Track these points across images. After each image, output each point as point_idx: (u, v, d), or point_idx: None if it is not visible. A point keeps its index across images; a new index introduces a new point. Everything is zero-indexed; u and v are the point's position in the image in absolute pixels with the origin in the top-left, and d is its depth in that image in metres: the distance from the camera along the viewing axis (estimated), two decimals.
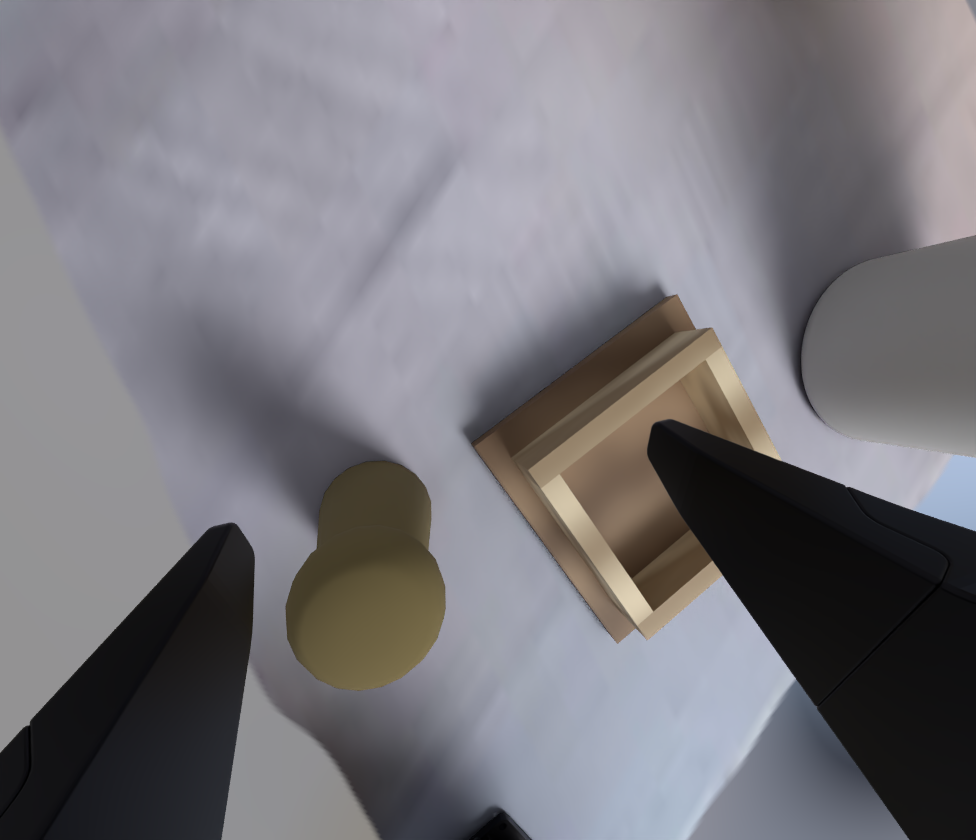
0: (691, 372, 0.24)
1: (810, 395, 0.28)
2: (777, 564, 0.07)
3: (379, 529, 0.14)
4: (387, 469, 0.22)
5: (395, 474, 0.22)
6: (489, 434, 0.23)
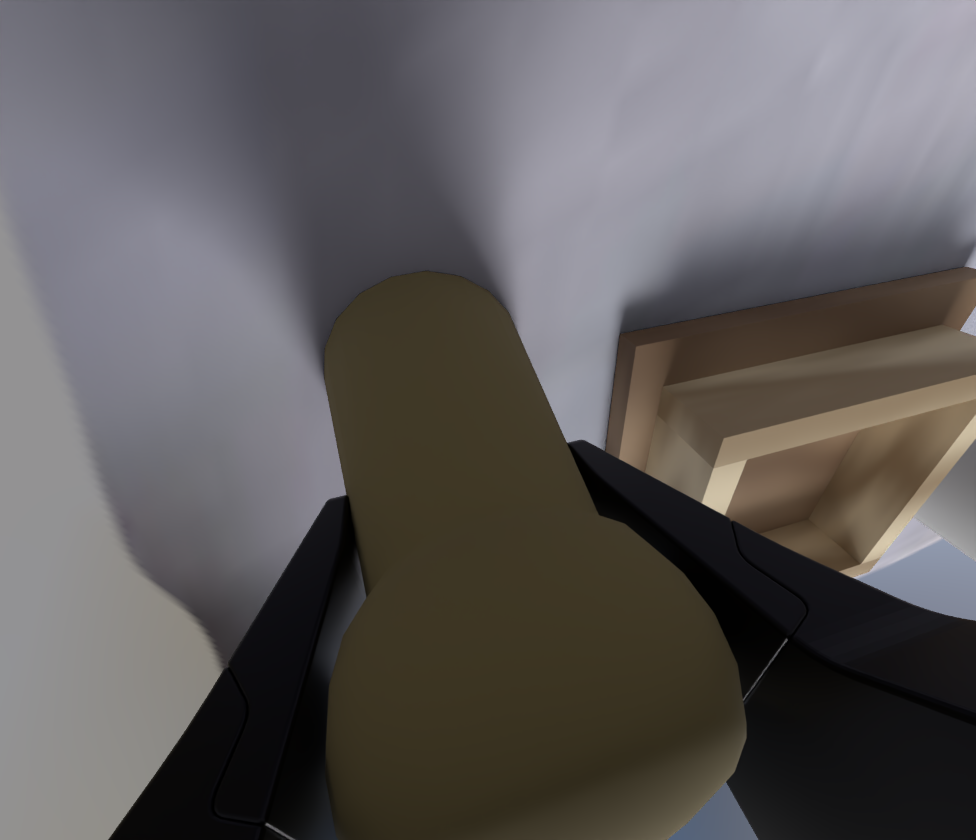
0: None
1: None
2: None
3: (672, 571, 0.05)
4: (501, 315, 0.11)
5: (514, 333, 0.11)
6: (665, 339, 0.14)
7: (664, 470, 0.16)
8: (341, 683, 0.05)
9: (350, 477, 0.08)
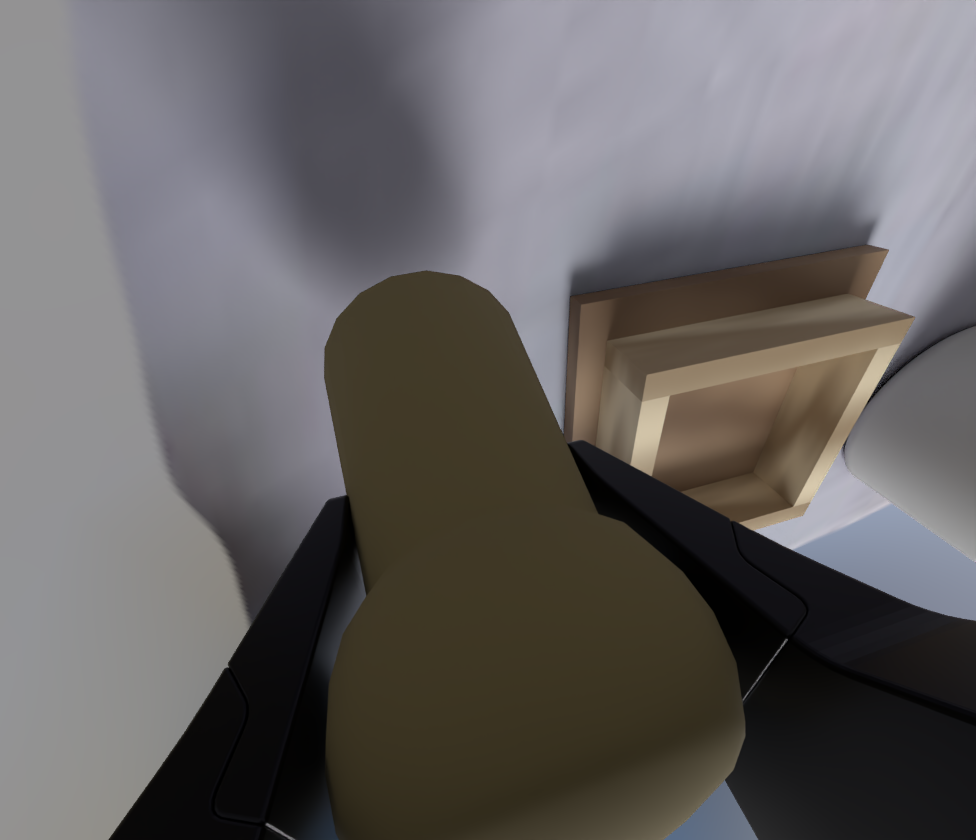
0: None
1: (864, 421, 0.27)
2: None
3: (671, 569, 0.05)
4: (501, 314, 0.11)
5: (514, 333, 0.11)
6: (605, 299, 0.17)
7: (611, 413, 0.19)
8: (341, 681, 0.05)
9: (350, 476, 0.08)
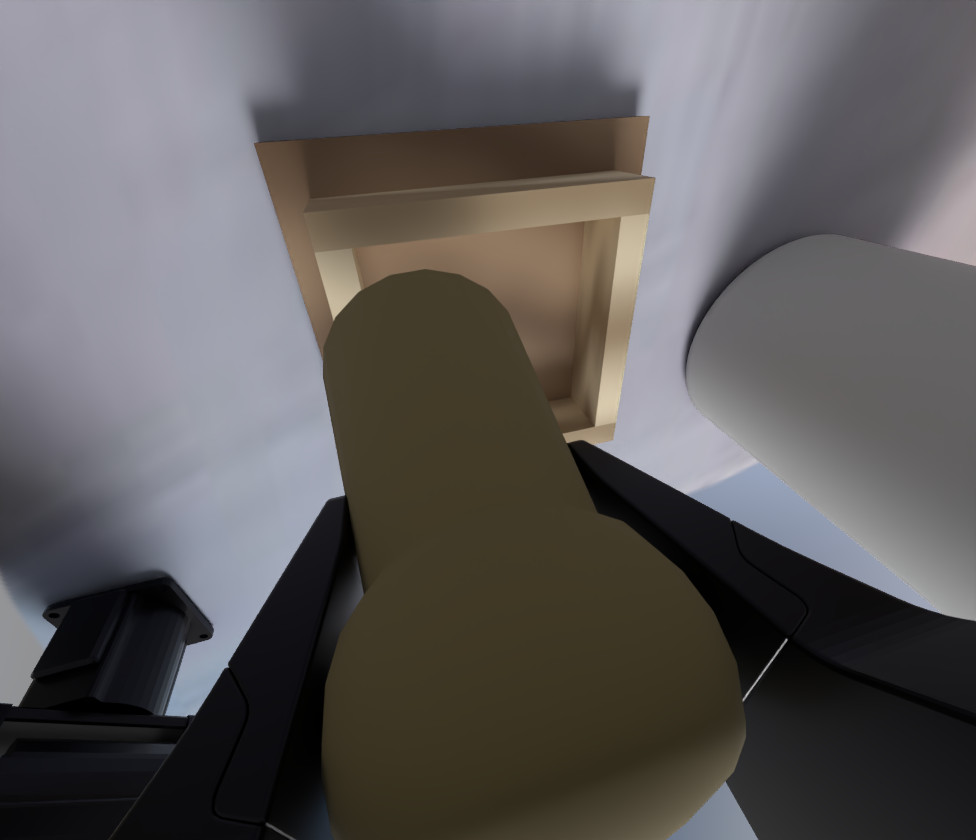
0: (598, 232, 0.18)
1: (694, 345, 0.25)
2: None
3: (671, 568, 0.05)
4: (501, 313, 0.11)
5: (514, 331, 0.11)
6: (288, 141, 0.15)
7: None
8: (337, 681, 0.04)
9: (348, 475, 0.08)
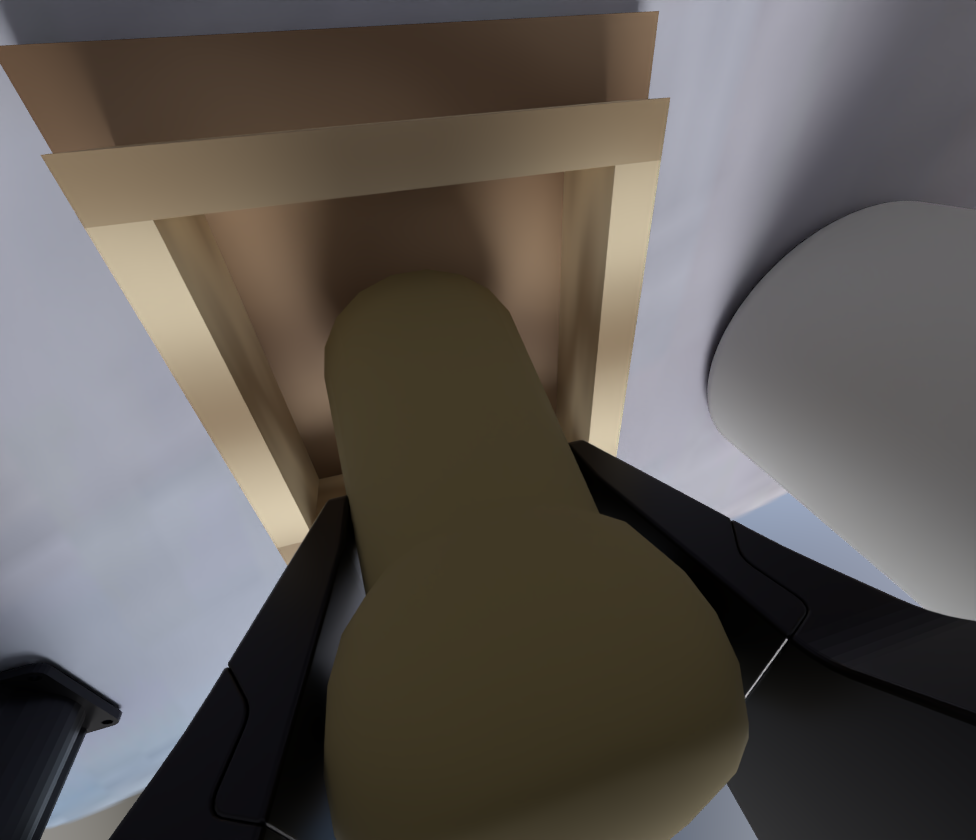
0: (583, 195, 0.12)
1: (719, 355, 0.19)
2: None
3: (673, 569, 0.05)
4: (502, 313, 0.11)
5: (515, 331, 0.11)
6: (55, 44, 0.09)
7: None
8: (340, 682, 0.04)
9: (350, 475, 0.08)
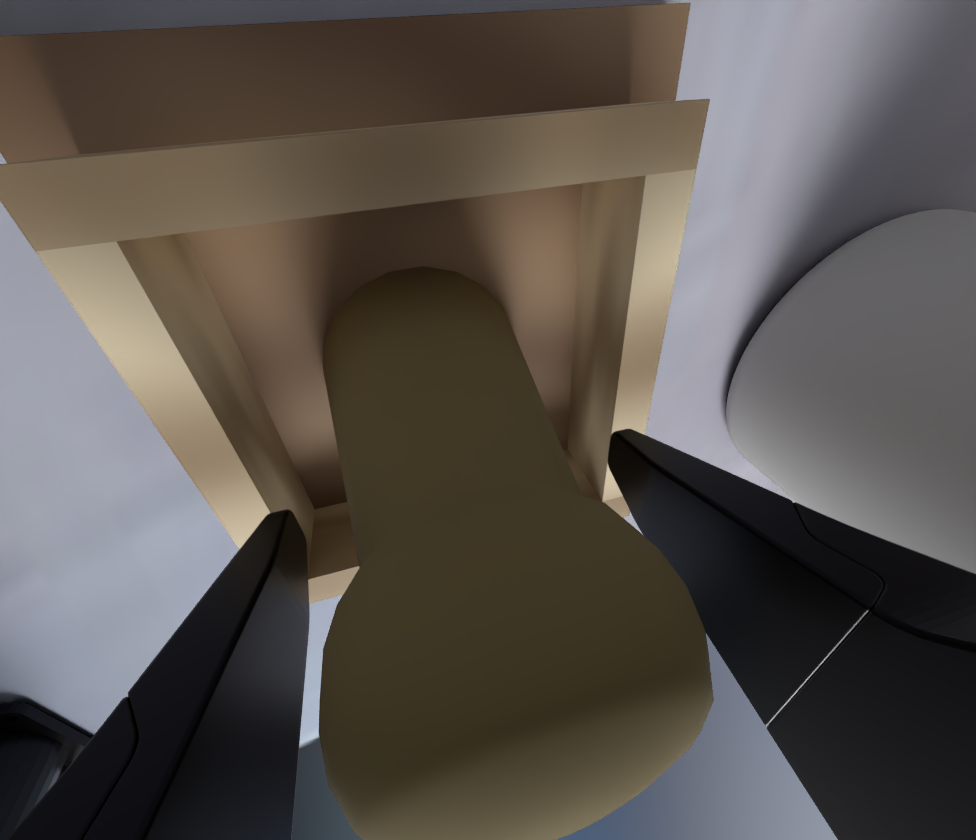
0: (604, 207, 0.11)
1: (741, 372, 0.18)
2: (725, 580, 0.07)
3: (646, 544, 0.05)
4: (496, 309, 0.12)
5: (508, 327, 0.11)
6: (5, 37, 0.08)
7: None
8: (334, 644, 0.05)
9: (346, 461, 0.08)
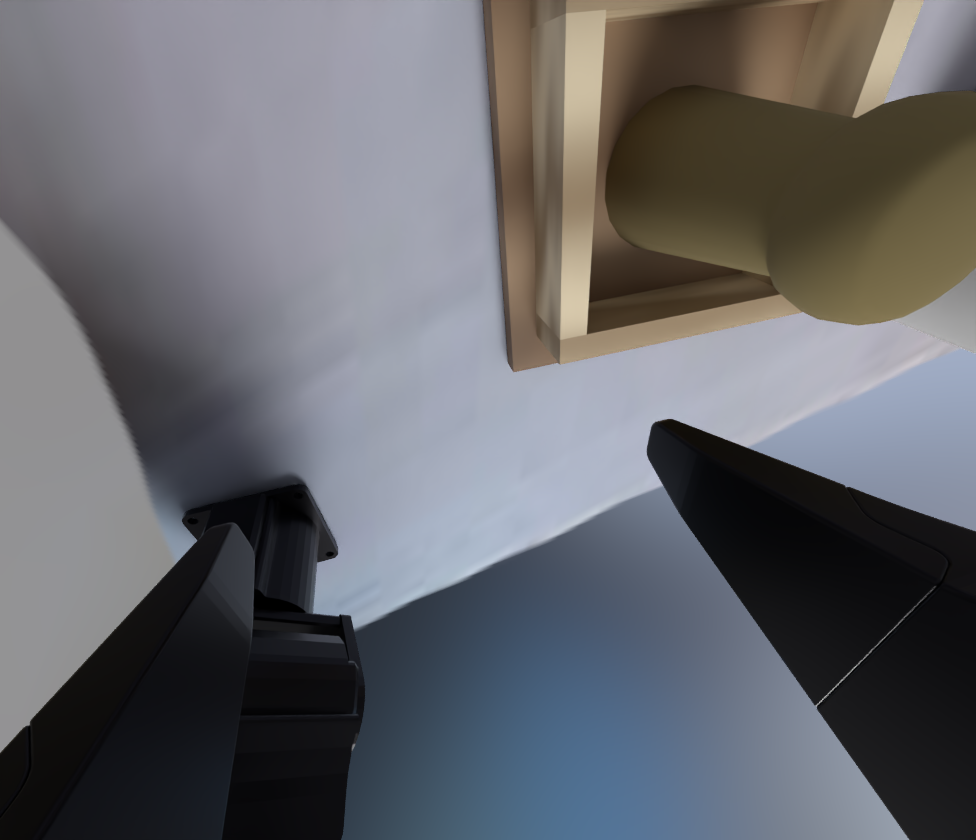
0: (841, 28, 0.15)
1: None
2: (777, 564, 0.07)
3: None
4: None
5: None
6: None
7: (541, 99, 0.14)
8: (834, 162, 0.10)
9: (715, 167, 0.13)
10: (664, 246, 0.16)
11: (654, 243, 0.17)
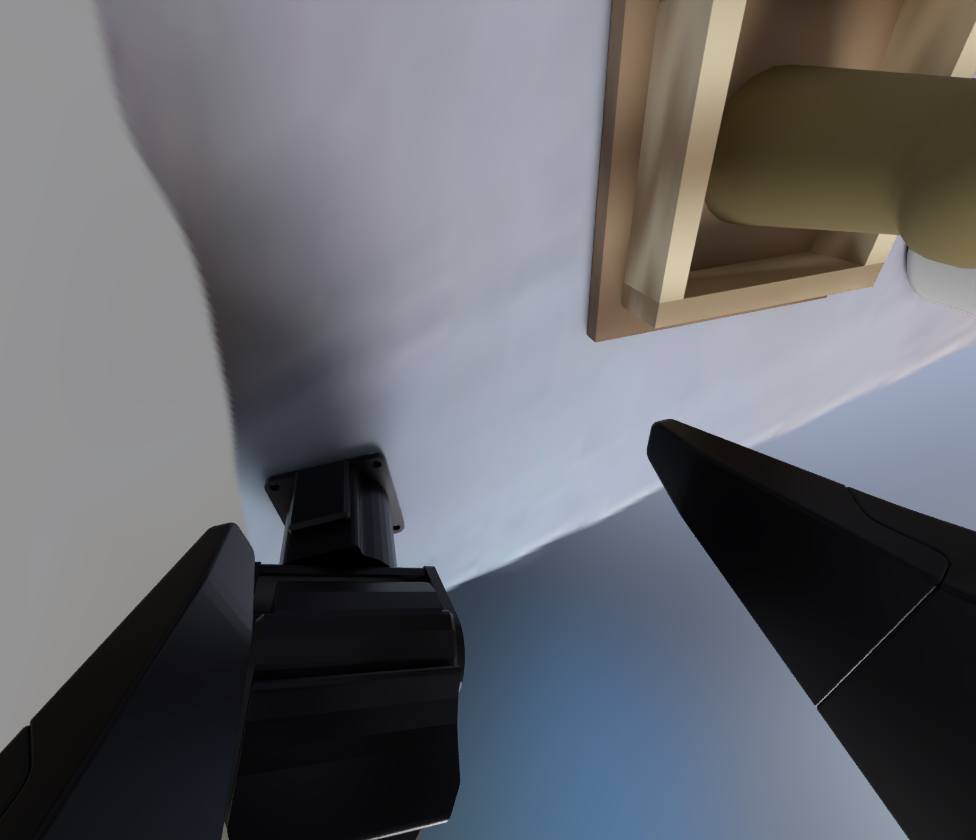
0: (933, 14, 0.16)
1: None
2: (777, 564, 0.07)
3: None
4: None
5: None
6: None
7: (666, 68, 0.15)
8: None
9: (839, 129, 0.14)
10: (764, 213, 0.17)
11: (752, 211, 0.18)
